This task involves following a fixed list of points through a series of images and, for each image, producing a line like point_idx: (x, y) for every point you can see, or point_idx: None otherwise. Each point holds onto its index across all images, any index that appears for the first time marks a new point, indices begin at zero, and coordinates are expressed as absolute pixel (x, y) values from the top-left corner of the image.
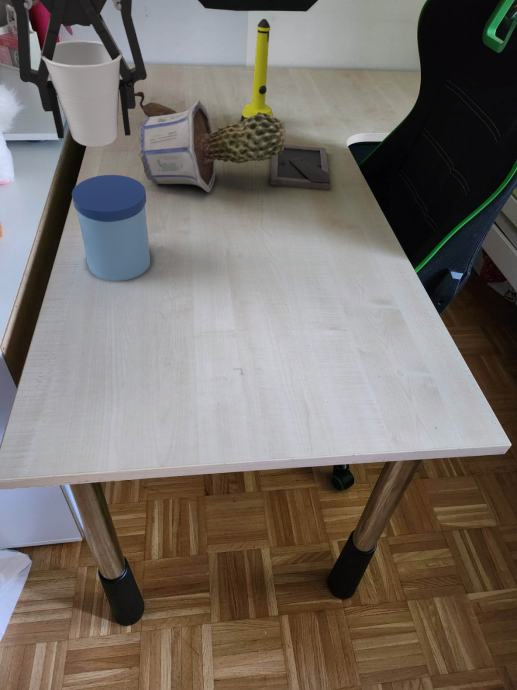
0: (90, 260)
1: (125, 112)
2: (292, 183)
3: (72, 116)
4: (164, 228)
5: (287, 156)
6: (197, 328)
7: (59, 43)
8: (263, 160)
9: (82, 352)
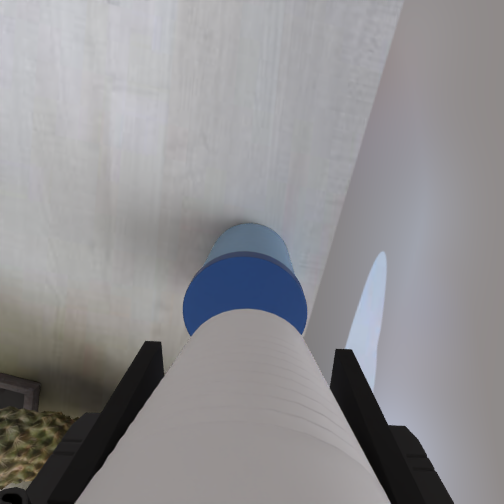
0: (286, 250)
1: (121, 395)
2: (6, 379)
3: (315, 378)
4: None
5: None
6: (161, 104)
7: None
8: (15, 407)
9: (314, 88)
